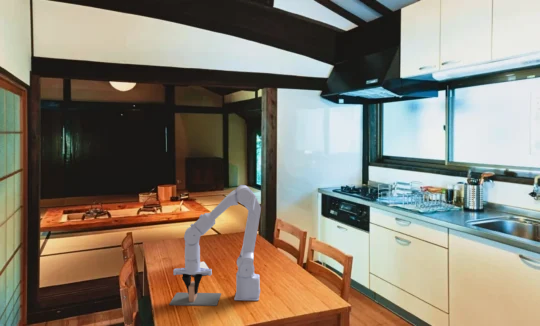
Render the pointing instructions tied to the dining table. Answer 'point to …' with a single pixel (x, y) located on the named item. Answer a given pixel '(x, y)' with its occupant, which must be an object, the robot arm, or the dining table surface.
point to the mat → (200, 300)
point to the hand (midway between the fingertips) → (193, 292)
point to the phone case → (203, 265)
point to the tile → (192, 292)
